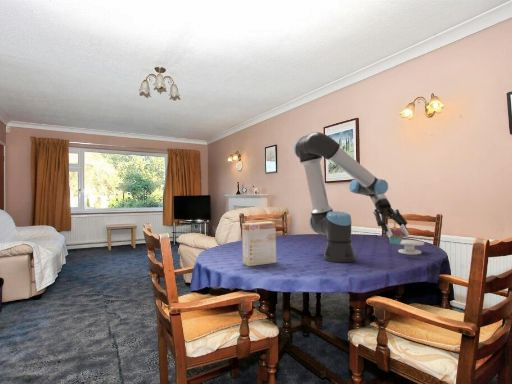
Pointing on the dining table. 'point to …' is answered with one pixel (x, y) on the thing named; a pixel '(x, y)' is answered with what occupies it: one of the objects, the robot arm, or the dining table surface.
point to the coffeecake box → (259, 243)
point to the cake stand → (410, 247)
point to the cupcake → (396, 236)
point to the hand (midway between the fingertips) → (399, 236)
